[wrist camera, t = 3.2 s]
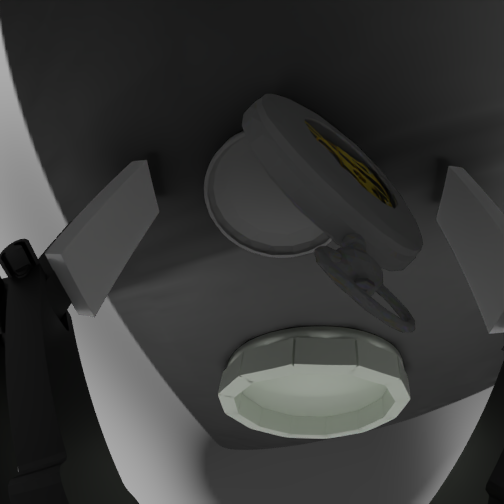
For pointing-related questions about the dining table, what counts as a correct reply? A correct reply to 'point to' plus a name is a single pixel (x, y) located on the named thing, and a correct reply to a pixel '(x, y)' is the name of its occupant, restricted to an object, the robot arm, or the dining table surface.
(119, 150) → the dining table surface
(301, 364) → the dish
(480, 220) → the robot arm
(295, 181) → the pocket watch
